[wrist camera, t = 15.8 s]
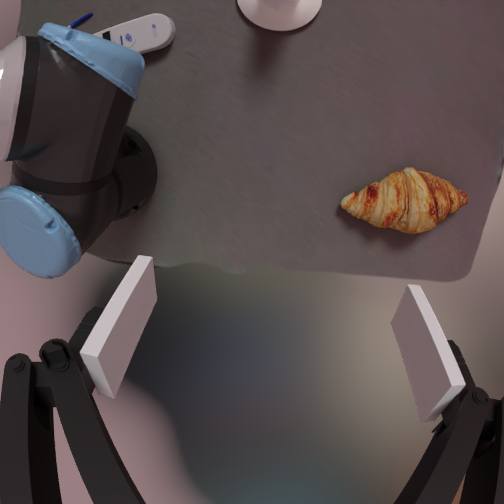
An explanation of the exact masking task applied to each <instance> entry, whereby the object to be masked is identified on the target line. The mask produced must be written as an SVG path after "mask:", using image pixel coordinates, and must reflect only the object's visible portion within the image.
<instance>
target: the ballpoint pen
mask: <svg viewBox="0 0 504 504" xmlns="http://www.w3.org/2000/svg"><path fill="white" fill-rule="evenodd" d="M92 15H93V14H92V13H89V14H87V15H85V16H84V17H82V18H80V19H79V20H77V21H75V22H74V23H72V24H71V25H70V26H68V28H73V27H75V26H76V25H78V24H80V23H81V22H83V21H85V20H86V19H88V18H90V17H91V16H92Z"/></svg>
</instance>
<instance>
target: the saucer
mask: <svg viewBox="0 0 504 504" xmlns="http://www.w3.org/2000/svg"><path fill="white" fill-rule="evenodd" d="M237 2H238V5H239V7H240V9H241V11H242V12H243V14H244V15H245V16H246V17H247V18H248V19H249V20H250V21H251V22H253V23H254V24H256V25H258V26H259V27H262V28H264V29H268V30H273V31H289V30H294V29H297V28H300V27H302V26H304V25H306V24H307V23H309V22H310V21H311V20H312V19H313V18H314V17H315V16H316V14H317V13H318V11H319V9H320V7H321V3H322V0H298V2H297V4H296V5H295V7H294V8H291V9H287V10H283V11H279V12H278V11H276V10H274V9H272V8H269V7H267V6H264V4H263V2H262V0H237Z"/></svg>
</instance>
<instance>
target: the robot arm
mask: <svg viewBox="0 0 504 504" xmlns="http://www.w3.org/2000/svg"><path fill="white" fill-rule="evenodd" d="M38 35H39V36H38V37H31V36H20V37H18V38H17V39H15V40H14V41H13V42H12V43H10V44H9V45H8V46H7V47H5V48H4V49H3V50H2V51H0V161H1V162H3V161H13V165H12V174H11V182H10V184H9V185H7V186H5V187H3V188H2V189H0V245H1V247H2V248H3V249H4V250H5V252H6V253H7V255H8V256H9V257H10V258H11V259H12V261H14V262H15V263H16V264H17V265H18V266H19V267H20V268H22V269H23V270H25V271H26V272H28V273H30V274H32V275H34V276H37V277H40V278H45V279H51V278H54V277H60V276H62V275H63V274H65V273H66V272H67V271H68V270H69V269H70V268H71V267H72V266H74V265H75V264H76V263H78V262H79V260H80V257H81V256H82V255H83V254H84V253H85V252H86V250H87V249H88V248H89V247H90V246H91V245H92V243H93V242H94V241H95V240H96V239H97V238H98V237H99V235H100V234H101V233H102V232H103V231H104V230H105V229H106V228H107V227H108V225H109V224H110V223H111V222H112V221H115V220H118V219H122V218H125V217H128V216H130V215H132V214H134V213H135V212H137V211H138V210H139V209H140V208H141V207H142V206H143V205H144V204H145V203H146V202H147V200H148V199H149V198H150V196H151V195H152V193H153V190H154V188H155V184H156V179H157V167H156V161H155V157H154V154H153V152H152V150H151V148H150V146H149V144H148V143H147V142H146V140H145V139H144V138H143V137H142V136H141V135H140V134H139V133H138V132H136V131H135V130H134V129H132V128H130V127H128V126H126V123H127V120H128V117H129V114H130V111H131V108H132V105H133V103H134V100H137V98H138V95H137V91H138V88H139V85H140V82H141V79H142V76H143V73H144V70H145V61H144V59H143V57H142V55H141V54H140V53H139V52H137V51H135V50H133V49H130V48H128V47H125V46H123V45H120V44H117V43H115V42H112V41H109V40H106V39H103V38H100V37H97V36H94V35H91V34H88V33H85V32H82V31H78V30H75V29H72V28H68V27H64V26H60V25H57V24H53V23H46V24H44V25H43V27H42V29H40V30H39V32H38ZM156 301H157V295H156V286H155V277H154V268H153V257H149V256H141V255H138V257H137V258H136V260H135V261H134V263H133V264H132V266H131V267H130V269H129V271H128V272H127V274H126V275H125V277H124V279H123V280H122V282H121V283H120V285H119V286H118V288H117V290H116V291H115V293H114V294H113V296H112V298H111V299H110V301H109V303H108V304H107V306H106V308H101V307H94V308H93V309H91V310H90V311H89V312H88V313H86V315H85V317H84V318H83V320H82V323H80V325H79V327H78V329H76V331H75V333H74V334H73V336H72V338H71V339H70V341H69V343H67V342H66V341H64V340H63V339H51V340H49V341H47V342H46V343H44V344H43V345H42V347H41V349H40V351H39V357H40V359H41V360H42V362H31V360H30V359H29V357H28V356H27V355H25V354H21V353H18V354H15V355H13V356H11V357H10V358H9V359H8V360H7V362H6V365H5V368H4V375H3V384H2V392H1V401H0V504H62V500H61V493H60V487H59V481H58V480H59V479H58V472H57V463H56V452H55V441H54V422H53V407H57V411H58V414H59V417H60V421H61V424H62V426H63V430H64V433H65V436H66V438H67V441H68V444H69V447H70V450H71V452H72V455H73V457H74V460H75V462H76V465H77V467H78V470H79V472H80V475H81V477H82V479H83V482H84V484H85V486H86V488H87V490H88V493H89V495H90V497H91V499H92V501H93V503H94V504H146V503H145V501H144V500H143V498H142V496H141V495H140V493H139V491H138V490H137V488H136V486H135V484H134V483H133V481H132V479H131V477H130V475H129V473H128V471H127V469H126V468H125V466H124V464H123V462H122V460H121V458H120V456H119V454H118V452H117V450H116V448H115V446H114V444H113V442H112V439H111V437H110V435H109V433H108V431H107V429H106V426H105V424H104V422H103V420H102V417H101V415H100V412H99V410H98V408H97V405H96V403H95V400H94V398H93V396H92V392H93V390H94V388H96V390H97V392H98V394H100V395H103V396H107V397H110V398H115V396H116V393H117V391H118V389H119V386H120V384H121V381H122V379H123V376H124V374H125V371H126V369H127V367H128V364H129V362H130V360H131V357H132V355H133V352H134V350H135V348H136V345H137V343H138V340H139V339H140V336H141V334H142V332H143V329H144V327H145V325H146V323H147V320H148V318H149V316H150V313H151V311H152V309H153V307H154V305H155V303H156ZM391 325H392V328H393V331H394V334H395V337H396V339H397V343H398V345H399V349H400V351H401V355H402V358H403V361H404V363H405V367H406V371H407V374H408V377H409V381H410V384H411V387H412V391H413V394H414V398H415V402H416V405H417V409H418V413H419V416H420V420H421V422H427V421H435V420H436V419H437V417H438V416H439V415H440V414H442V417H443V420H442V421H441V422H440V423H439V424H438V425H437V426H436V427H435V428H434V430H433V431H432V433H433V432H435V431H436V432H435V434H434V436H433V438H432V440H431V442H430V444H429V446H428V447H427V449H426V451H425V453H424V455H423V457H422V459H421V460H420V462H419V464H418V466H417V467H416V469H415V471H414V473H413V474H412V476H411V478H410V479H409V481H408V483H407V484H406V486H405V487H404V489H403V491H402V492H401V493H400V495H399V497H398V498H397V499H396V501H395V503H394V504H451V503H452V501H453V499H454V497H455V495H456V493H457V491H458V489H459V487H460V484H461V482H462V480H463V477H464V475H465V473H466V476H465V480H464V485H463V490H462V494H461V499H460V503H459V504H504V397H503V398H502V399H501V400H496V399H491V398H489V396H488V394H487V393H486V392H485V391H484V390H483V389H481V388H479V387H476V386H475V383H474V381H473V379H472V377H471V374H470V372H469V369H468V367H467V365H466V364H465V360H464V358H463V357H462V354H461V352H460V349H459V347H458V346H457V345H456V344H455V343H454V342H453V341H452V340H446V338H445V335H444V333H443V331H442V329H441V327H440V325H439V322H438V321H437V318H436V317H435V314H434V312H433V310H432V308H431V306H430V304H429V303H428V300H427V298H426V296H425V295H424V293H423V291H422V289H421V287H420V285H410V284H408V285H407V287H406V290H405V292H404V294H403V297H402V299H401V301H400V304H399V306H398V308H397V310H396V313H395V315H394V317H393V319H392V321H391Z"/></svg>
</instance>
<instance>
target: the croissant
mask: <svg viewBox="0 0 504 504" xmlns="http://www.w3.org/2000/svg"><path fill="white" fill-rule="evenodd" d="M466 204H468V196H467V194H466V193H465V192H463V191H461V190H457V189H456V188H455V187H454V186H453V185H452V184H451V183H450V182H448V181H446V180H443V179H441V178H439V177H437V176H434V175H432V174H431V173H427V172H423V171H418V170H416V169H415V168H413V167H406V168H405V169H403V170H402V171H396V172H393V173H390V174H389V176H387V177H386V178H384V179H383V180H381V181H380V182H374V183H372V184H369V185H368V186H367V187H365V188H364V189H362V190H361V191H358V192H353V193H351V194H349V195H347V196H345V197H344V198H343V199H342V201H341V207H342V208H343V209H344V210H347V212H348V213H351V216H355V217H356V218H358V219H360V218H362V219H363V220H366V221H368V222H369V223H370V224H372V225H373V226H377V227H379V228H383V229H384V228H386V227H389V228H393V229H396V230H399V231H401V232H404V233H409V234H410V233H412V234H415V233H421V232H426V231H428V230H430V229H432V228H434V227H435V226H436V223H437V222H439V221H442V220H444V219H445V218H446V216H447V214H448V213H454V212H456V211H458V210H459V208H461V207H462V206H463V205H466Z"/></svg>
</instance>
